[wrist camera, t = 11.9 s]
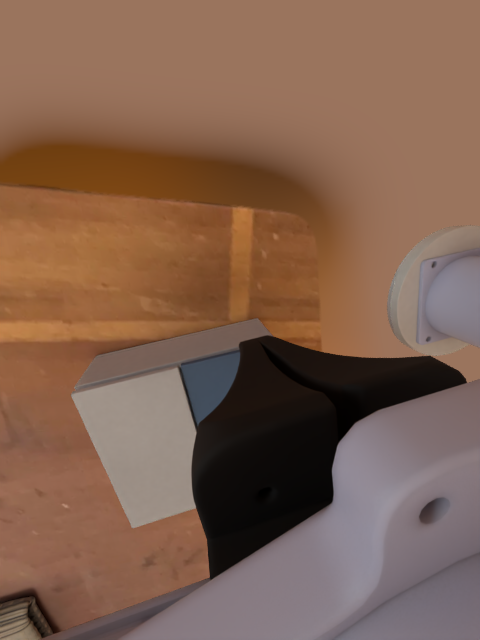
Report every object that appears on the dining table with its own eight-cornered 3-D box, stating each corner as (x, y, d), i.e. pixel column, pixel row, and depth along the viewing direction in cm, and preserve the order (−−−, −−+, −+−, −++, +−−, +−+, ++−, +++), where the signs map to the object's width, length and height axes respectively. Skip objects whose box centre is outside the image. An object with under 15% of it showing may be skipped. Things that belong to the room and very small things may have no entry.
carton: (257, 317, 22) (278, 342, 17) (275, 431, 26) (296, 476, 22) (95, 355, 21) (68, 394, 16) (141, 470, 25) (131, 529, 20)
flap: (275, 340, 18) (277, 343, 18) (293, 472, 22) (295, 476, 22) (180, 363, 17) (180, 366, 17) (217, 494, 21) (218, 499, 21)
